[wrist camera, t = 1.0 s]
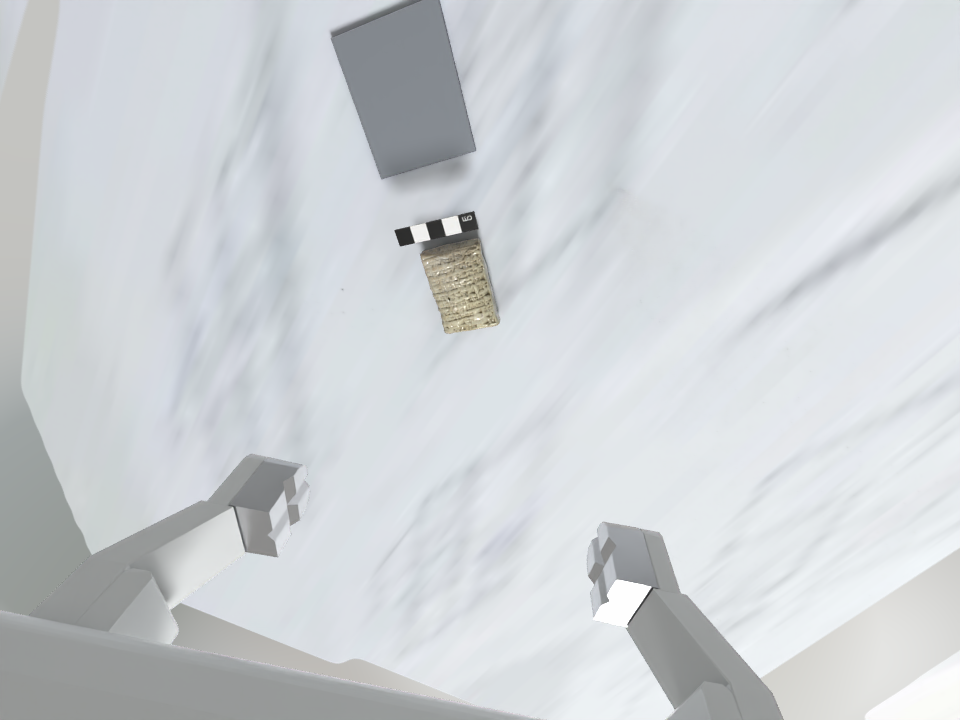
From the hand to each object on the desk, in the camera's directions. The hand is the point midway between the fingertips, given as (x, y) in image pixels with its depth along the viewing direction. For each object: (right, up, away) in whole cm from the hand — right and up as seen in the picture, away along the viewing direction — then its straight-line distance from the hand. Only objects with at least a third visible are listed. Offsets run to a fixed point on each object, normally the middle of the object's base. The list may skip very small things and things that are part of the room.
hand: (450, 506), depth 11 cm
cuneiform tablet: (-3, +17, +24) cm, 30 cm away
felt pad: (-5, +26, +22) cm, 34 cm away
